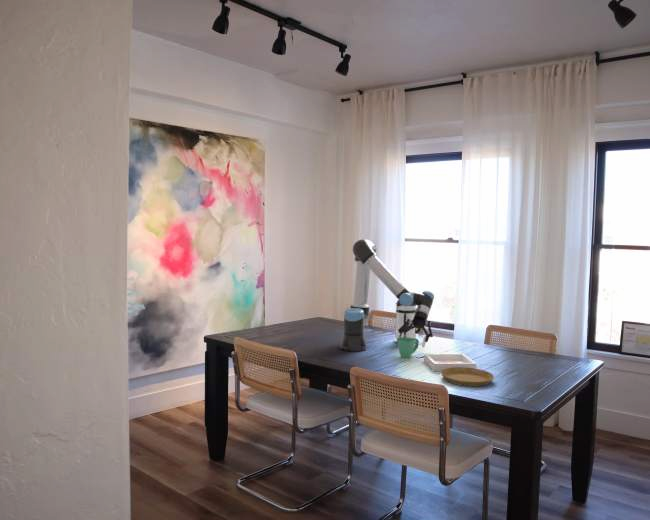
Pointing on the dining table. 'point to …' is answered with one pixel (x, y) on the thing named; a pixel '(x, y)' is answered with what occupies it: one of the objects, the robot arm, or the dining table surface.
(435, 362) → the tray
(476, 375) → the plant saucer
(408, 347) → the mug
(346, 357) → the dining table surface
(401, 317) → the coffee press
